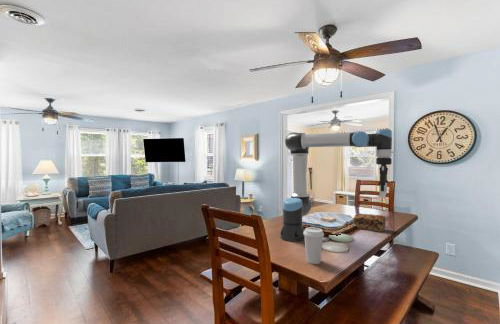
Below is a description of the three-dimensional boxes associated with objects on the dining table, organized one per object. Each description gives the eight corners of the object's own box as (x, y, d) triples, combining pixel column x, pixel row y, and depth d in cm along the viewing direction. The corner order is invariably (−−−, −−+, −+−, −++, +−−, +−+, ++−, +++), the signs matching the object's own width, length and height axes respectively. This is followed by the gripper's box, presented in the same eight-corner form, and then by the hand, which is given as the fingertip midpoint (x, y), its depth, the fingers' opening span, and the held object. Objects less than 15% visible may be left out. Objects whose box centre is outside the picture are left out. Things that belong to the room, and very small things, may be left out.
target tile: (315, 240, 147) (315, 239, 147) (318, 237, 153) (318, 235, 153) (327, 242, 143) (327, 241, 143) (329, 238, 149) (329, 237, 149)
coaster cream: (318, 249, 132) (318, 247, 132) (324, 241, 144) (324, 240, 144) (346, 254, 125) (346, 253, 125) (350, 246, 137) (350, 244, 137)
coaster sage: (326, 239, 148) (326, 238, 148) (331, 233, 160) (331, 232, 160) (351, 243, 141) (351, 242, 141) (354, 236, 153) (354, 235, 153)
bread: (385, 229, 169) (386, 214, 169) (382, 233, 160) (382, 218, 160) (357, 224, 180) (357, 211, 180) (352, 228, 172) (352, 213, 172)
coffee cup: (328, 262, 116) (328, 230, 116) (314, 267, 111) (314, 234, 111) (312, 255, 124) (312, 225, 124) (298, 260, 119) (298, 228, 118)
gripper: (390, 157, 125) (390, 199, 125) (392, 157, 146) (391, 193, 147) (374, 157, 129) (373, 198, 129) (378, 157, 150) (377, 192, 151)
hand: (383, 195), depth 138 cm, fingers open, 13 cm apart
